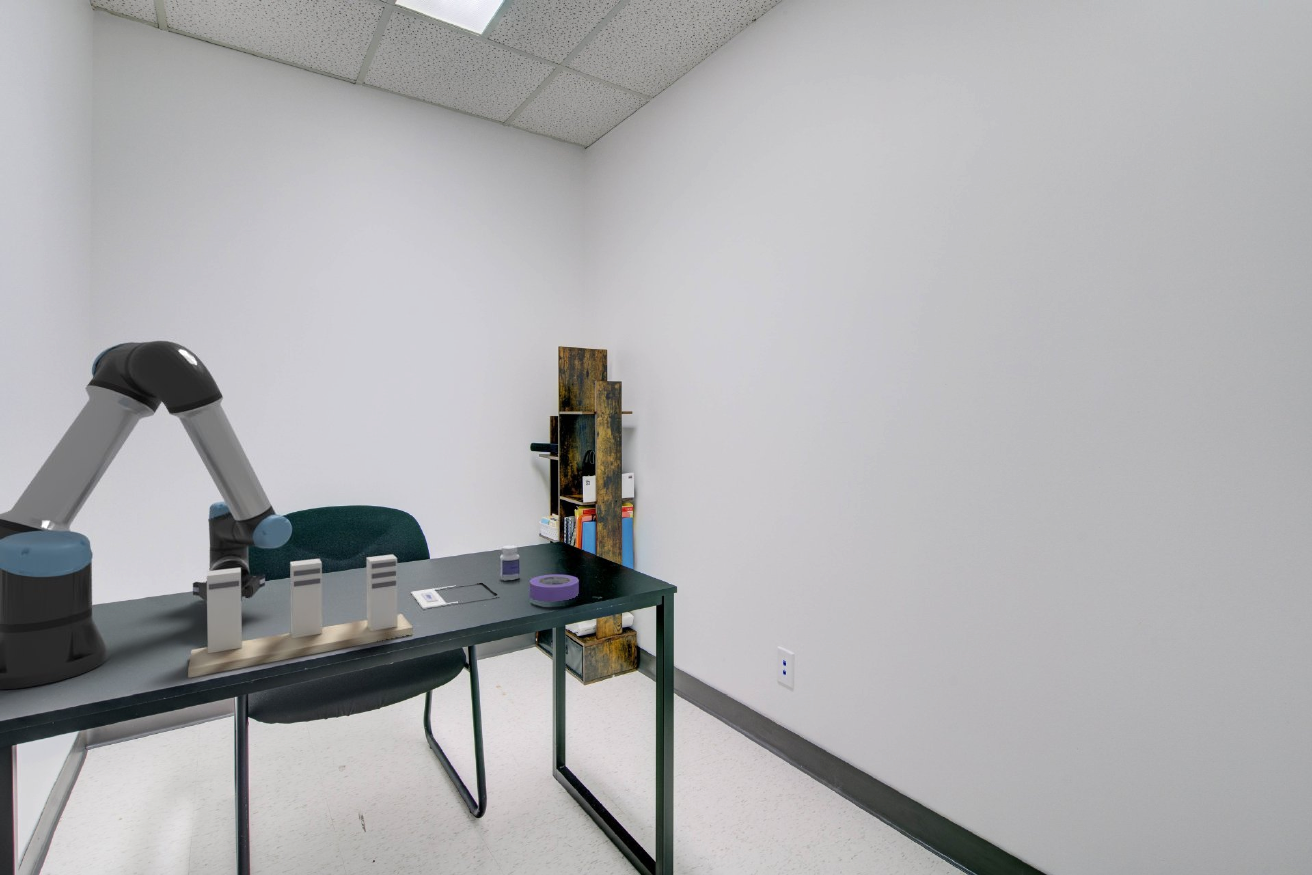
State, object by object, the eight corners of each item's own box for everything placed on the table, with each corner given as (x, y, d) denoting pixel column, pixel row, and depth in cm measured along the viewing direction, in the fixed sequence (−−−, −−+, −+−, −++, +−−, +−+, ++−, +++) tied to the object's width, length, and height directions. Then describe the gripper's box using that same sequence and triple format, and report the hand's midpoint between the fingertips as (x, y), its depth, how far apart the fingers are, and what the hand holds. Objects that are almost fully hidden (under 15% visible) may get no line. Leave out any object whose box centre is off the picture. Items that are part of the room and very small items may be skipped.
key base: (188, 677, 101) (188, 669, 101) (191, 657, 109) (191, 649, 109) (412, 634, 122) (412, 627, 122) (401, 620, 130) (401, 613, 130)
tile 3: (370, 631, 119) (370, 561, 118) (367, 625, 122) (366, 557, 122) (397, 626, 122) (397, 558, 121) (393, 620, 125) (392, 554, 125)
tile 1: (207, 653, 107) (206, 576, 107) (208, 646, 110) (207, 571, 110) (241, 647, 110) (240, 572, 109) (241, 640, 113) (240, 567, 113)
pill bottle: (523, 579, 164) (523, 546, 164) (506, 582, 160) (506, 549, 160) (512, 575, 168) (512, 543, 167) (495, 579, 164) (495, 546, 163)
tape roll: (569, 591, 154) (569, 571, 153) (585, 604, 143) (585, 583, 143) (524, 597, 148) (524, 577, 148) (537, 611, 138) (537, 589, 138)
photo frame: (410, 590, 150) (482, 580, 159) (410, 595, 150) (482, 585, 159) (423, 606, 137) (500, 594, 147) (423, 611, 137) (500, 599, 147)
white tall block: (292, 638, 114) (291, 566, 114) (291, 632, 118) (290, 561, 117) (322, 633, 117) (321, 562, 117) (319, 627, 121) (319, 558, 120)
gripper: (264, 588, 139) (270, 616, 119) (193, 597, 131) (188, 629, 112) (264, 556, 138) (270, 579, 119) (192, 563, 131) (187, 589, 112)
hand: (230, 603), depth 116 cm, fingers closed
